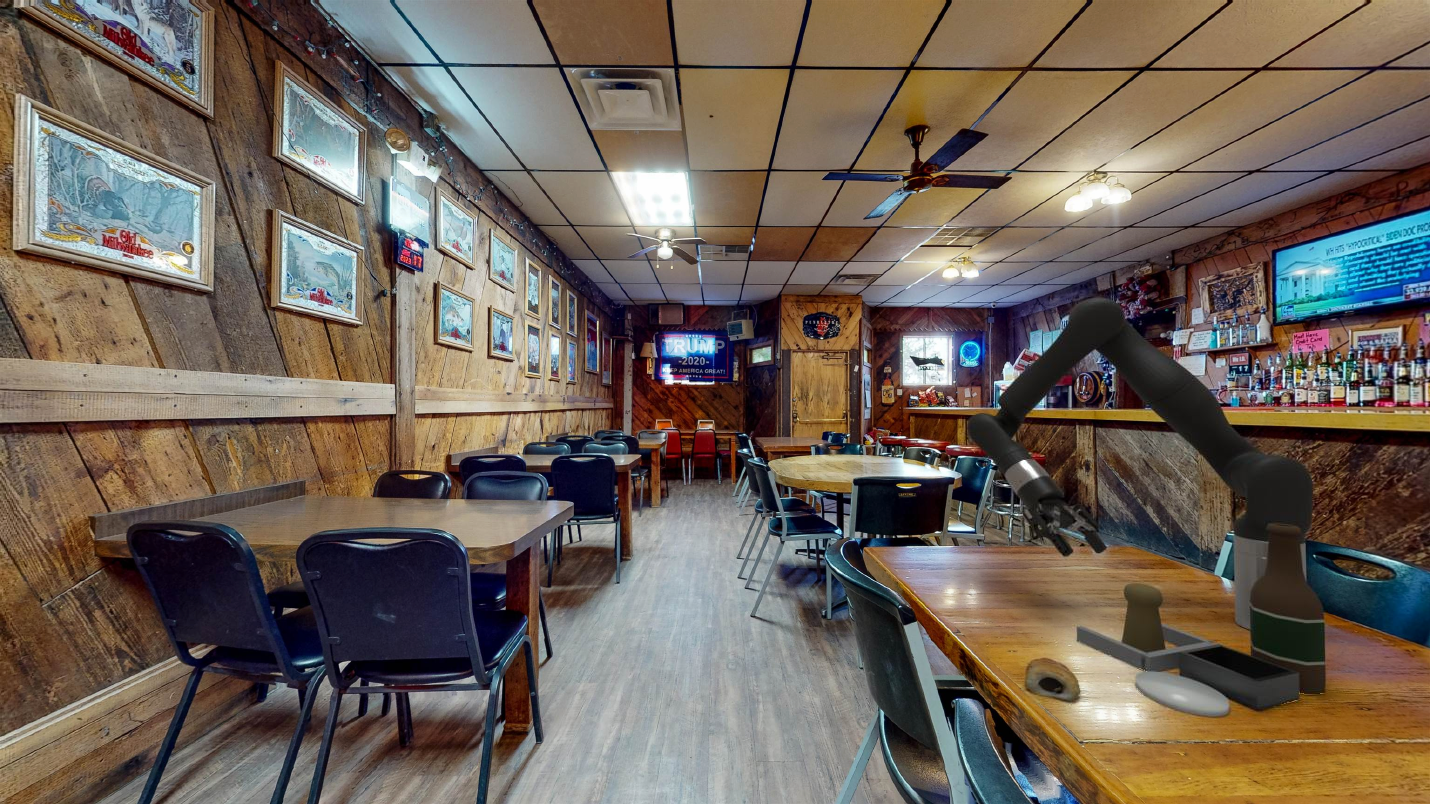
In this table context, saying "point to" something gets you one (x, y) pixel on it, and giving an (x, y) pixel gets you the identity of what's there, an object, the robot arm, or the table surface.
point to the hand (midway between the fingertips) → (1086, 552)
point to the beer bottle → (1288, 613)
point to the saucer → (1182, 694)
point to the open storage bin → (1240, 676)
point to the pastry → (1051, 679)
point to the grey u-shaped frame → (1139, 658)
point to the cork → (1143, 618)
